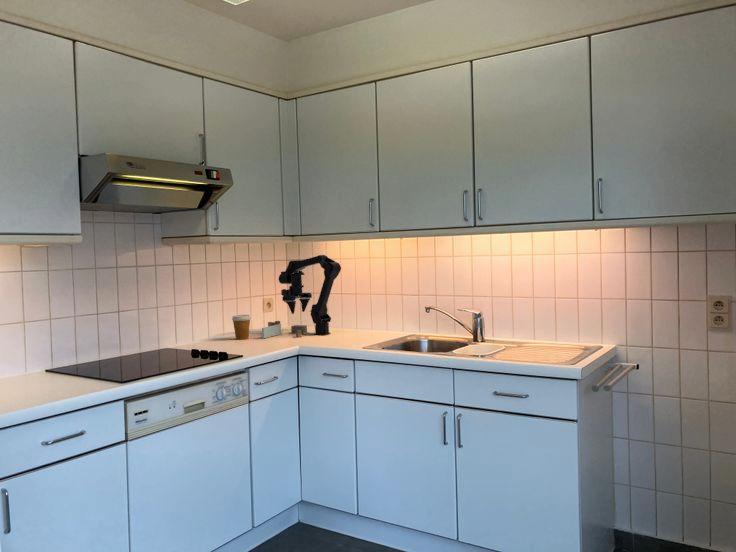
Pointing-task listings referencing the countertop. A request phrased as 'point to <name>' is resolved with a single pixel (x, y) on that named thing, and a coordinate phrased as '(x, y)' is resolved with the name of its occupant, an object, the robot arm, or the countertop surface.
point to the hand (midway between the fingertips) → (298, 312)
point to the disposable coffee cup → (241, 326)
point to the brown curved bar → (298, 332)
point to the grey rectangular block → (299, 328)
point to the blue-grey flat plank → (271, 331)
